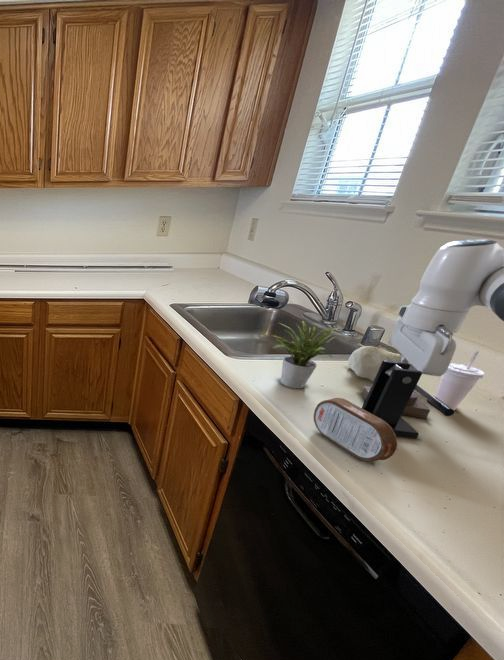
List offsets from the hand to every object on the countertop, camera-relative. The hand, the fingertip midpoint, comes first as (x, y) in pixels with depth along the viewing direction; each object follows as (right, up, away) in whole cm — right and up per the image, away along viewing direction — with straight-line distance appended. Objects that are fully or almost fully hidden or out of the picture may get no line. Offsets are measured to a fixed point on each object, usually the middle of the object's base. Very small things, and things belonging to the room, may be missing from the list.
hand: (404, 377), depth 94 cm
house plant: (-15, -1, +14) cm, 21 cm away
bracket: (-11, -10, -4) cm, 15 cm away
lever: (-7, -3, -9) cm, 12 cm away
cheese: (+9, -1, +16) cm, 18 cm away
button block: (0, -6, +3) cm, 7 cm away
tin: (-23, -14, -12) cm, 30 cm away
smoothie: (+12, -7, +3) cm, 14 cm away
